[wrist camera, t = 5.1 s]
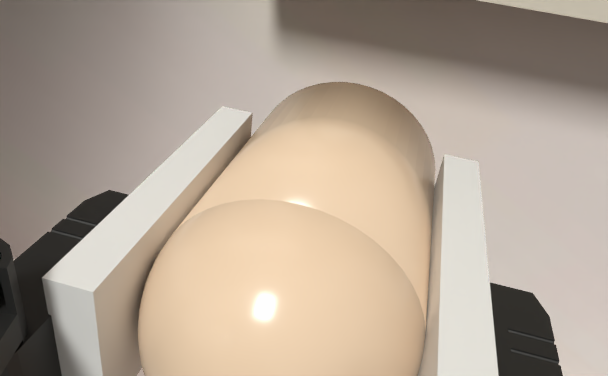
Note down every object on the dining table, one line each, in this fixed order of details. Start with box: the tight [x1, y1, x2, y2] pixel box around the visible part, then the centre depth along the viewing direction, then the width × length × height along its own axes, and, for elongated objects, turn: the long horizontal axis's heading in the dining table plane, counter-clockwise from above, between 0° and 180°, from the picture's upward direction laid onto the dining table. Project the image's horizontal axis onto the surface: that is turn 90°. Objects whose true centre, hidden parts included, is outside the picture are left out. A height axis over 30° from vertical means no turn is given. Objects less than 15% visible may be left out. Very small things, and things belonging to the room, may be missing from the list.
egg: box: [138, 82, 435, 376], centre depth 10 cm, size 5×5×8 cm
